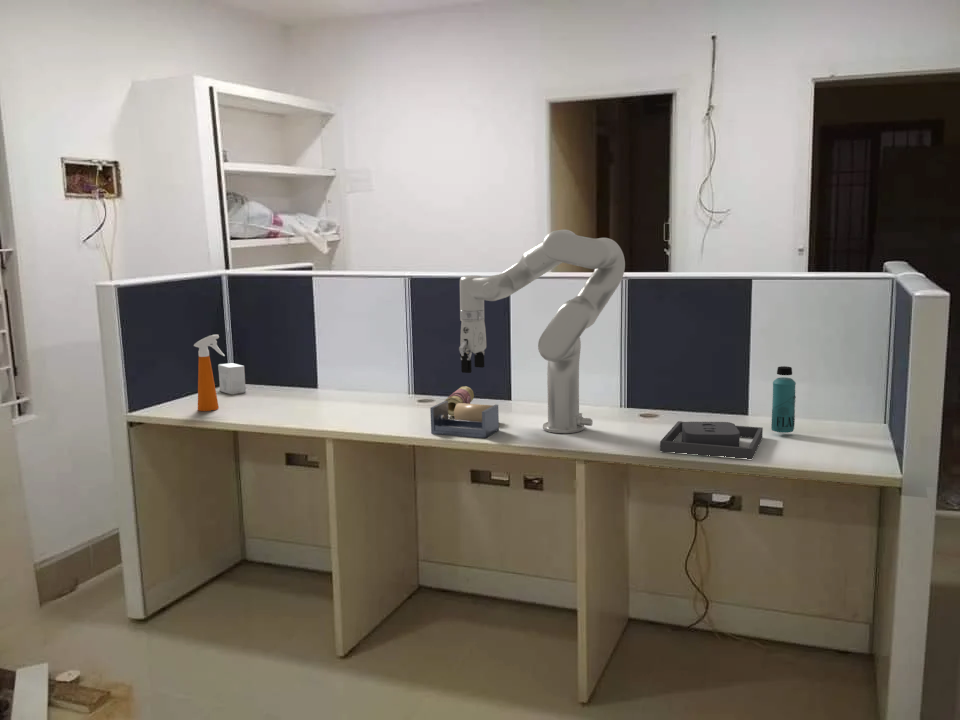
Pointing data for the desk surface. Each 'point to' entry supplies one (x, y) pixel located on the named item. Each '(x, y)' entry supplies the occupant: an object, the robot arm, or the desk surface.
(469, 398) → the scroll
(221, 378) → the skincare box
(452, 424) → the holder
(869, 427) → the desk surface
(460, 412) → the roll
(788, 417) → the beverage bottle
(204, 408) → the spray bottle
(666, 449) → the speaker tray
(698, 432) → the streaming box
